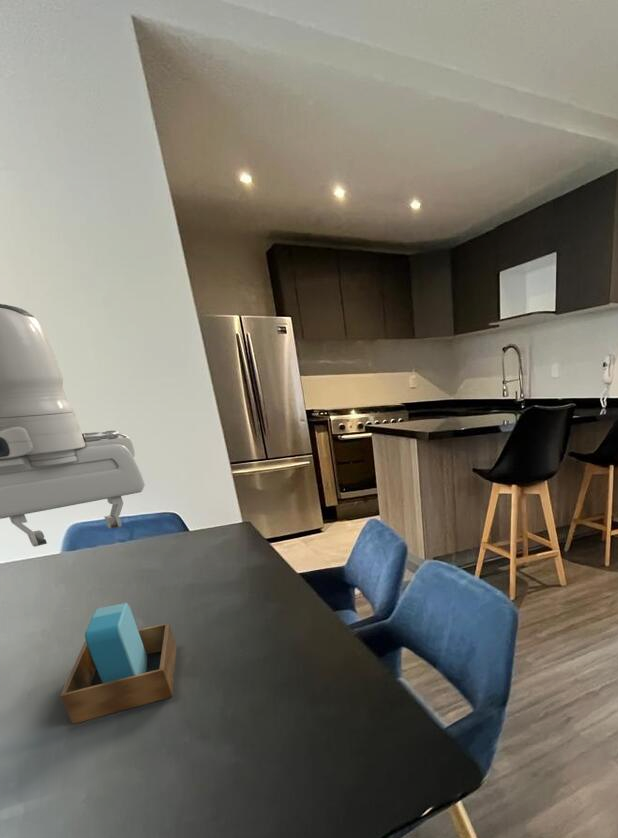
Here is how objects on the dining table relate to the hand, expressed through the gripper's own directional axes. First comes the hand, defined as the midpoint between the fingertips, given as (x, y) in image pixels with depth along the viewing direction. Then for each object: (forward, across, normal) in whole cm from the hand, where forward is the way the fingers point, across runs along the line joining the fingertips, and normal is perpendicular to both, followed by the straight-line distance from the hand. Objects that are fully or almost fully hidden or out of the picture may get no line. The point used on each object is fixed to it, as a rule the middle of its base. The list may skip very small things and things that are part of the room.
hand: (79, 535), depth 72 cm
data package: (+26, 0, -1) cm, 26 cm away
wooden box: (+26, 0, -1) cm, 26 cm away
